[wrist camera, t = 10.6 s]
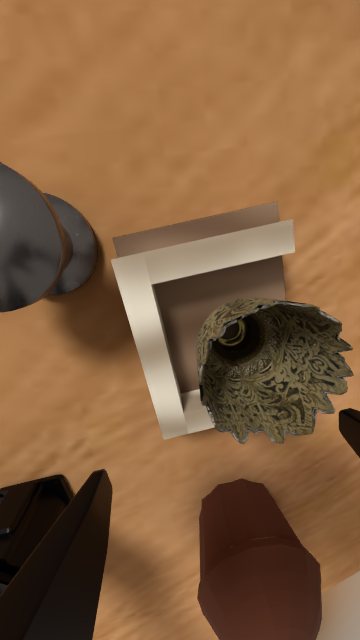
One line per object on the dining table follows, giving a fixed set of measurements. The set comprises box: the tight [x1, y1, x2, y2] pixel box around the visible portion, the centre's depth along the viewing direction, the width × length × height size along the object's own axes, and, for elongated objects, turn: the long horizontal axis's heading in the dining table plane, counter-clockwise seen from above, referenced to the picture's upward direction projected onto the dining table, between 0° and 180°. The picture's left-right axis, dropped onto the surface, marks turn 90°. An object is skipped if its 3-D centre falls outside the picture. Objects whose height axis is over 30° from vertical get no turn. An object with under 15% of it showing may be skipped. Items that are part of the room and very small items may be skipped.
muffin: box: [197, 479, 322, 640], centre depth 21 cm, size 12×11×10 cm
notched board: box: [111, 201, 295, 440], centre depth 17 cm, size 17×12×4 cm
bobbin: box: [0, 162, 98, 312], centre depth 13 cm, size 7×7×6 cm
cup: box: [196, 297, 353, 444], centre depth 14 cm, size 8×7×8 cm
